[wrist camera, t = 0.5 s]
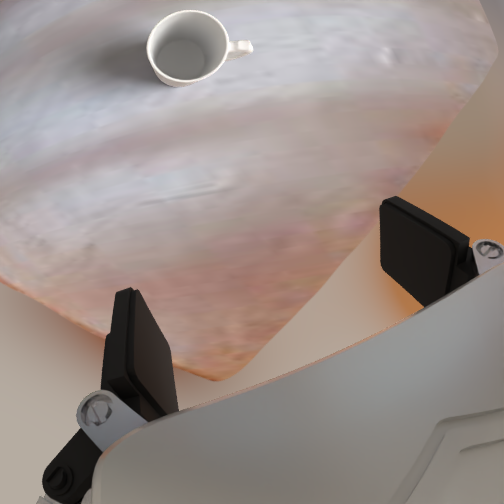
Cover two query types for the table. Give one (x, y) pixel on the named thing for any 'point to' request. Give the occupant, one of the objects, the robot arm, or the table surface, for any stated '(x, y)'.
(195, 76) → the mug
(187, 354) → the table surface
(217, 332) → the table surface
